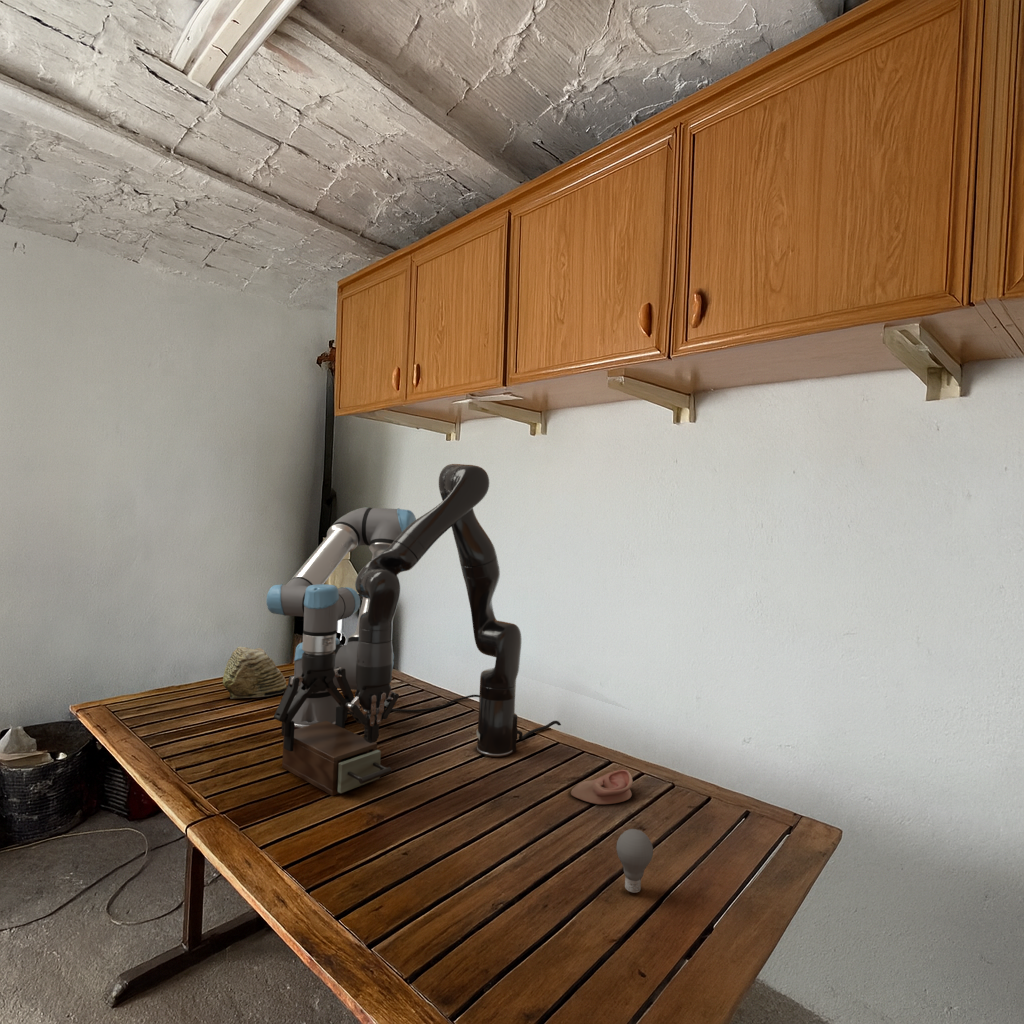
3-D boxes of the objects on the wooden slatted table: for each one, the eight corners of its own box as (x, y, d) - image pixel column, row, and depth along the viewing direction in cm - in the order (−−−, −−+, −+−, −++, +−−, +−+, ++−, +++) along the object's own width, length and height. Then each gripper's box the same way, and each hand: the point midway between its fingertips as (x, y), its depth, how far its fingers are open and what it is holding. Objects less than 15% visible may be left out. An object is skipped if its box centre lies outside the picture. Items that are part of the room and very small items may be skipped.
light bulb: (610, 879, 108) (613, 822, 108) (644, 879, 109) (647, 822, 109) (619, 902, 102) (622, 840, 102) (655, 901, 103) (658, 840, 103)
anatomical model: (569, 782, 136) (575, 761, 148) (568, 800, 136) (574, 778, 148) (632, 790, 134) (633, 768, 145) (631, 809, 134) (632, 785, 145)
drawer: (395, 786, 138) (396, 758, 138) (356, 802, 130) (357, 772, 130) (331, 754, 153) (332, 729, 153) (292, 767, 145) (293, 740, 145)
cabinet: (375, 779, 143) (377, 743, 143) (332, 796, 134) (333, 757, 134) (325, 753, 156) (326, 720, 156) (282, 767, 147) (283, 732, 147)
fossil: (218, 695, 195) (220, 647, 195) (278, 685, 208) (279, 640, 207) (228, 703, 189) (230, 653, 188) (289, 692, 201) (290, 645, 201)
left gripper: (278, 662, 136) (274, 761, 136) (372, 646, 155) (368, 733, 155) (260, 656, 141) (256, 751, 141) (353, 641, 160) (349, 725, 160)
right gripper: (359, 670, 128) (356, 755, 128) (409, 659, 138) (406, 738, 138) (337, 662, 132) (334, 744, 133) (387, 652, 143) (384, 729, 143)
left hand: (314, 742), depth 148 cm, fingers open, 13 cm apart
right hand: (371, 741), depth 135 cm, fingers closed
